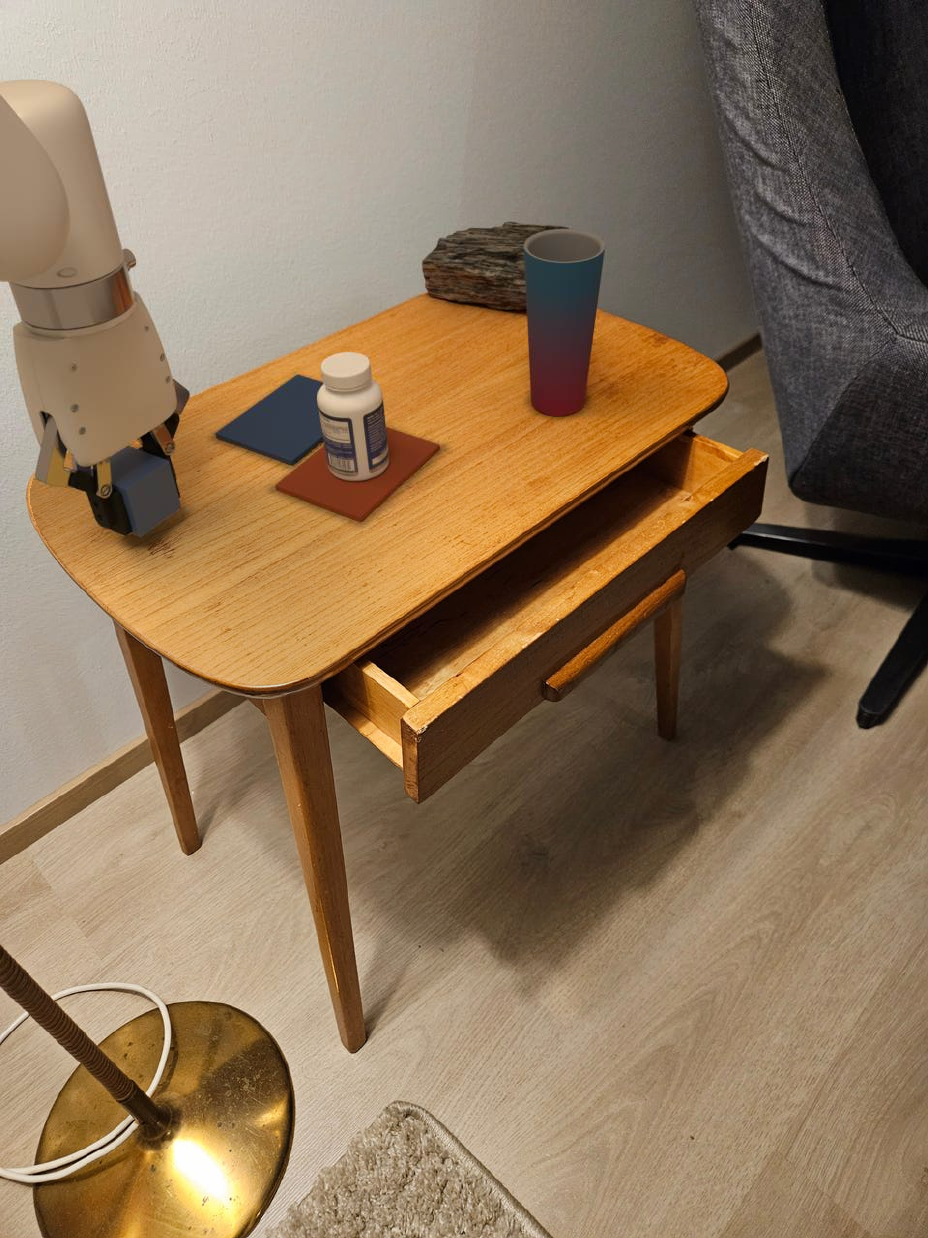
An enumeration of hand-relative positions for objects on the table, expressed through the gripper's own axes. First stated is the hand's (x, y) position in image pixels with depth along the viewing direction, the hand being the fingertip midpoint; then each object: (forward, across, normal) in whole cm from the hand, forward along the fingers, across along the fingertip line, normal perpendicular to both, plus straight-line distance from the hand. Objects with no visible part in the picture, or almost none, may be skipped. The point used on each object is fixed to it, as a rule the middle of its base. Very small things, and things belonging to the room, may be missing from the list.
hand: (140, 509), depth 77 cm
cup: (+2, -34, +20) cm, 39 cm away
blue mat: (+2, -19, 0) cm, 19 cm away
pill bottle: (+2, -16, +10) cm, 19 cm away
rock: (-5, -51, -3) cm, 51 cm away
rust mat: (+2, -16, +10) cm, 19 cm away
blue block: (0, 0, 0) cm, 0 cm away
